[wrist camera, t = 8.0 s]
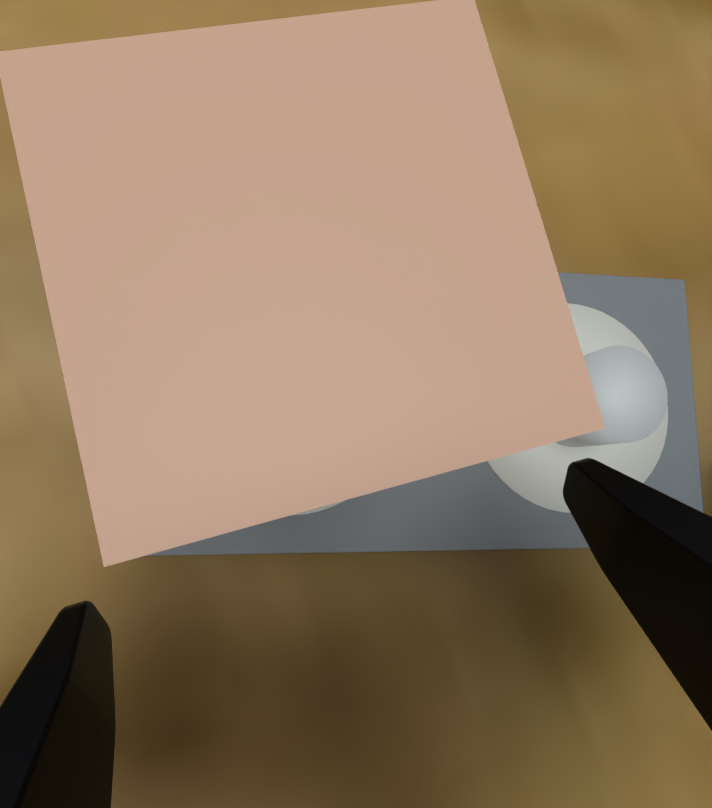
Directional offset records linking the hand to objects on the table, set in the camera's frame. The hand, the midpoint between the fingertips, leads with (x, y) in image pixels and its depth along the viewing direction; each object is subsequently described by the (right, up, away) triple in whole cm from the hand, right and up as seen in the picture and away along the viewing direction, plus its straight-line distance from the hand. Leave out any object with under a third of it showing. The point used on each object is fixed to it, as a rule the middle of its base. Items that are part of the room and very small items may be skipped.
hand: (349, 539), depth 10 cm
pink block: (-2, +3, +8) cm, 9 cm away
